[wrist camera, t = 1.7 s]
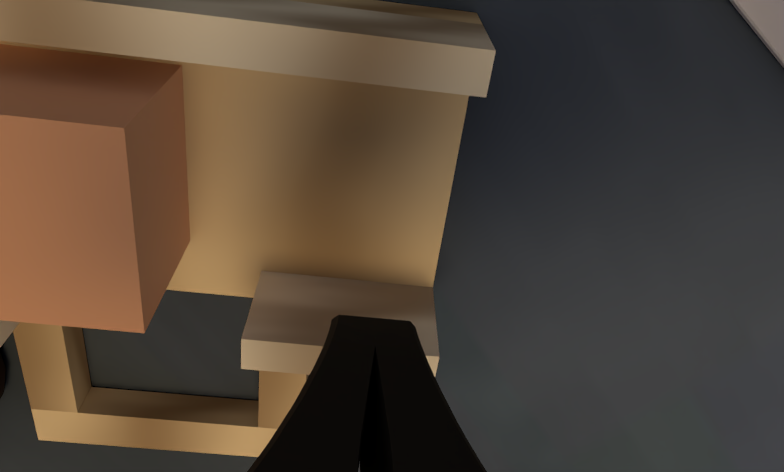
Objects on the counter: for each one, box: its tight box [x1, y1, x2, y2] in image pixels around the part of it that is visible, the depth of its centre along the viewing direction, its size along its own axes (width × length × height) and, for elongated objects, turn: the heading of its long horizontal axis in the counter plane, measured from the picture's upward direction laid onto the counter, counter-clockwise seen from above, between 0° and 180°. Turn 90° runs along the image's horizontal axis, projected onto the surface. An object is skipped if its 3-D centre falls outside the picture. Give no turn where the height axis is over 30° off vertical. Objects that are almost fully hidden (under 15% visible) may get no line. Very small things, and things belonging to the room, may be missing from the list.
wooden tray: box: [0, 0, 496, 457], centre depth 18 cm, size 18×16×4 cm
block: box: [0, 44, 190, 333], centre depth 15 cm, size 5×5×4 cm
